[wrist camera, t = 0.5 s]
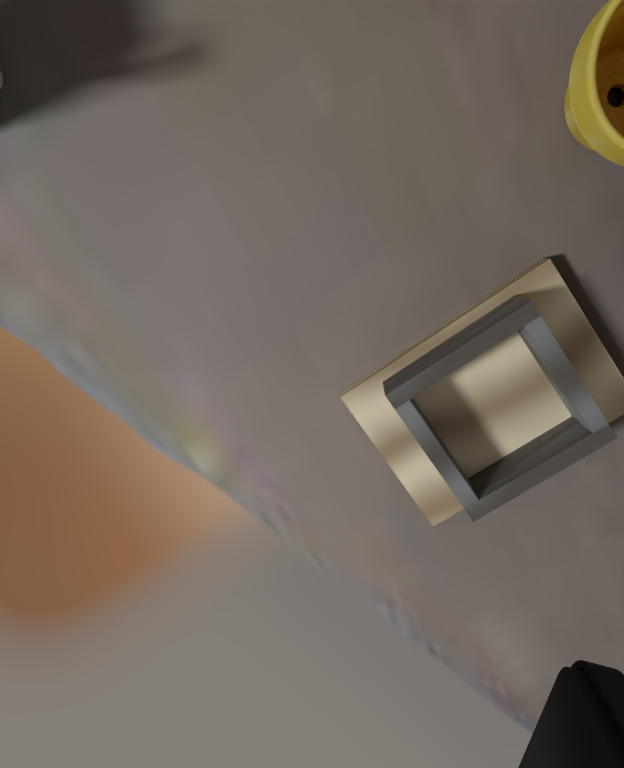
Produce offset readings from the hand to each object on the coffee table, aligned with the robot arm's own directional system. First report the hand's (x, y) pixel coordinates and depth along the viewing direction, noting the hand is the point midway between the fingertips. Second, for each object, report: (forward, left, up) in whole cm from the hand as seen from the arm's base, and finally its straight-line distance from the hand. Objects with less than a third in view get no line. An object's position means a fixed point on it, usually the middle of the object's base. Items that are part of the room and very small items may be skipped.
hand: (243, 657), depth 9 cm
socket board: (+12, +6, -38) cm, 40 cm away
